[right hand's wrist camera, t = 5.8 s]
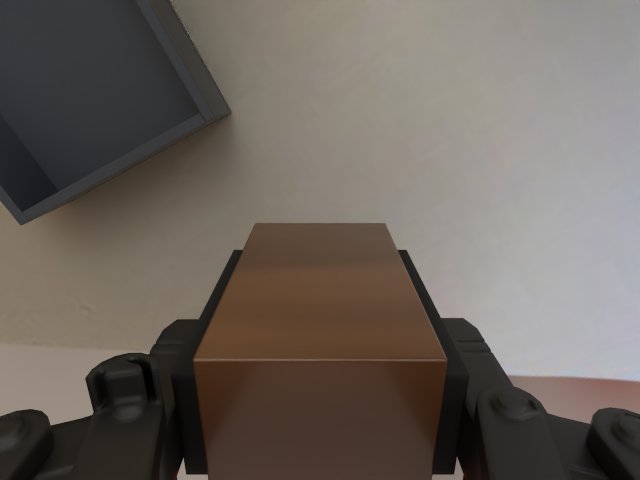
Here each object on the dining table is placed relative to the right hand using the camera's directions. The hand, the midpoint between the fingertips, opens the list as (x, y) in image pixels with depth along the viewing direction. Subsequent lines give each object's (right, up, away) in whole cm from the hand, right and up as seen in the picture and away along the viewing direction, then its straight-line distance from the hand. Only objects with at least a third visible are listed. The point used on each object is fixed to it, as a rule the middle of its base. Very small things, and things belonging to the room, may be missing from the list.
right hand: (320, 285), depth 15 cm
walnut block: (0, 0, 0) cm, 0 cm away
